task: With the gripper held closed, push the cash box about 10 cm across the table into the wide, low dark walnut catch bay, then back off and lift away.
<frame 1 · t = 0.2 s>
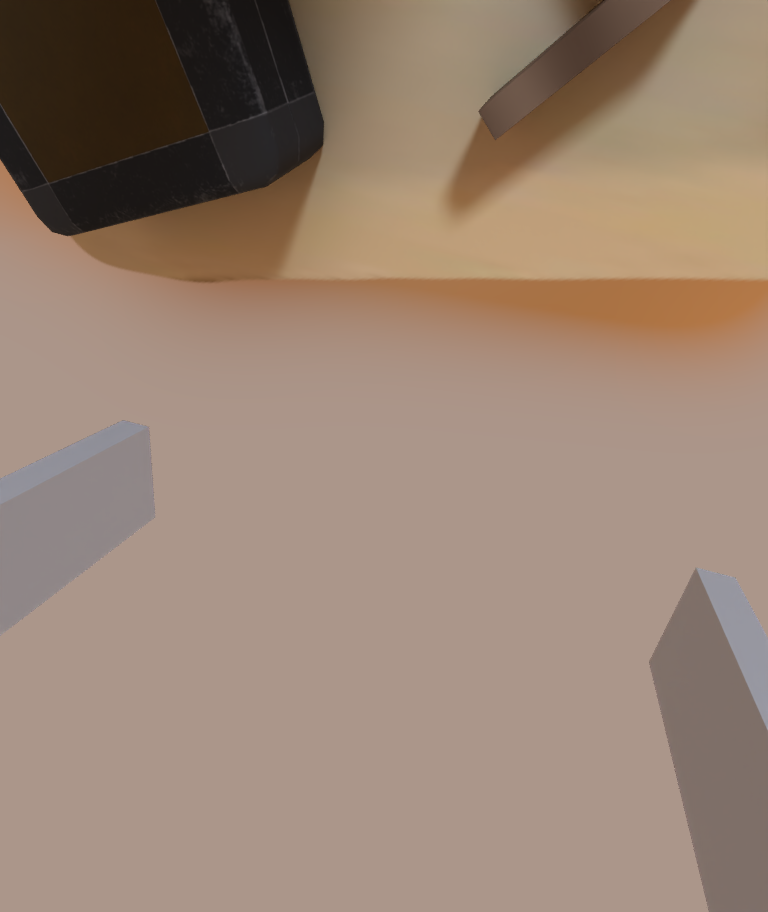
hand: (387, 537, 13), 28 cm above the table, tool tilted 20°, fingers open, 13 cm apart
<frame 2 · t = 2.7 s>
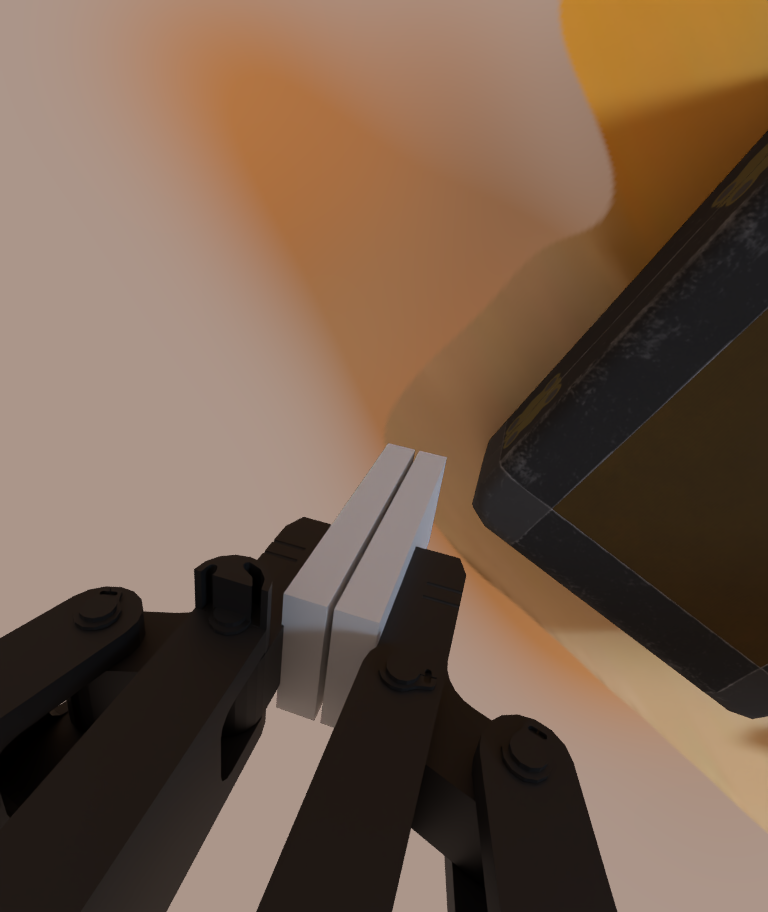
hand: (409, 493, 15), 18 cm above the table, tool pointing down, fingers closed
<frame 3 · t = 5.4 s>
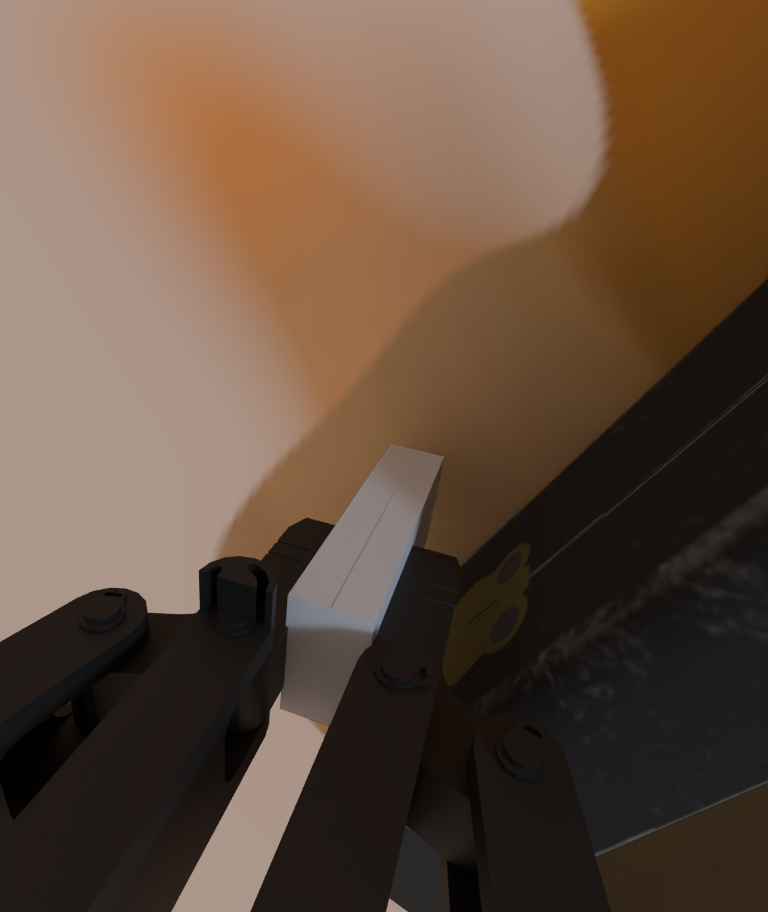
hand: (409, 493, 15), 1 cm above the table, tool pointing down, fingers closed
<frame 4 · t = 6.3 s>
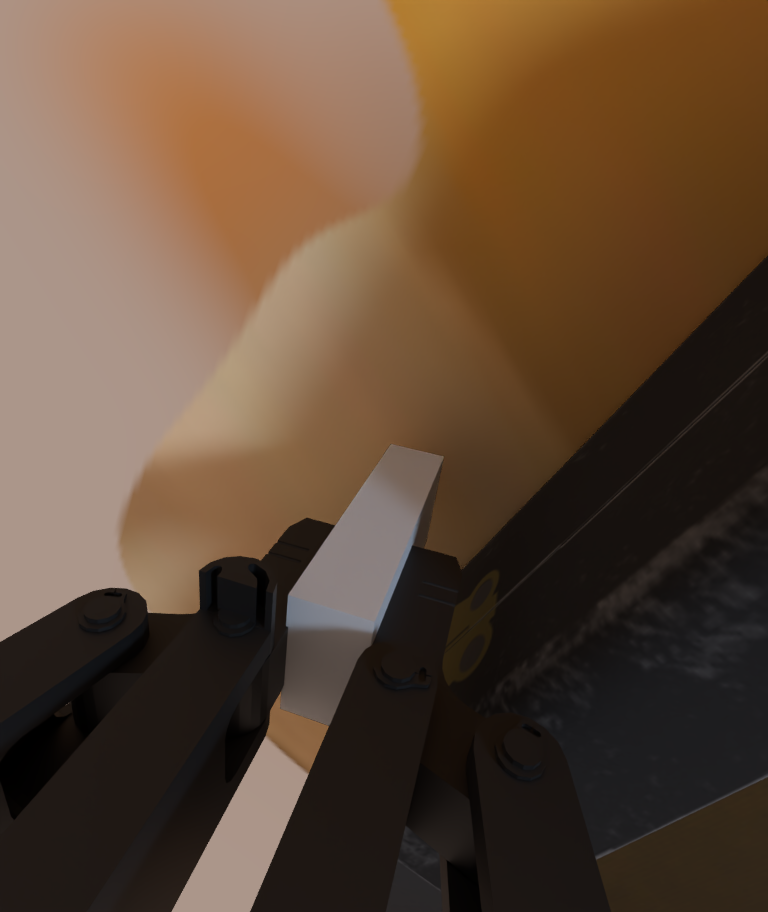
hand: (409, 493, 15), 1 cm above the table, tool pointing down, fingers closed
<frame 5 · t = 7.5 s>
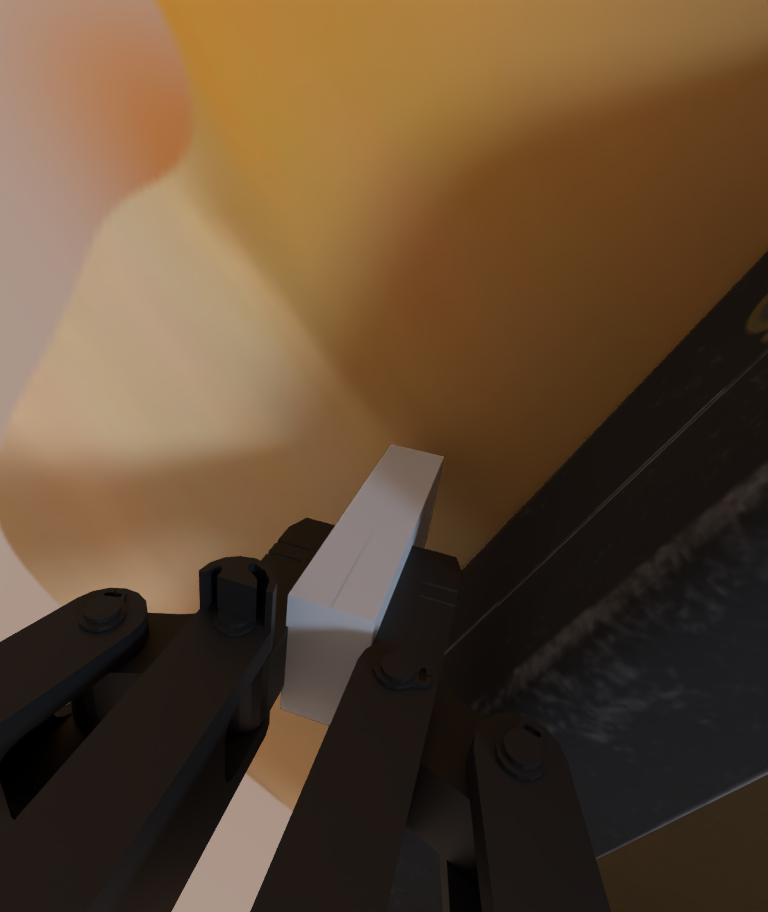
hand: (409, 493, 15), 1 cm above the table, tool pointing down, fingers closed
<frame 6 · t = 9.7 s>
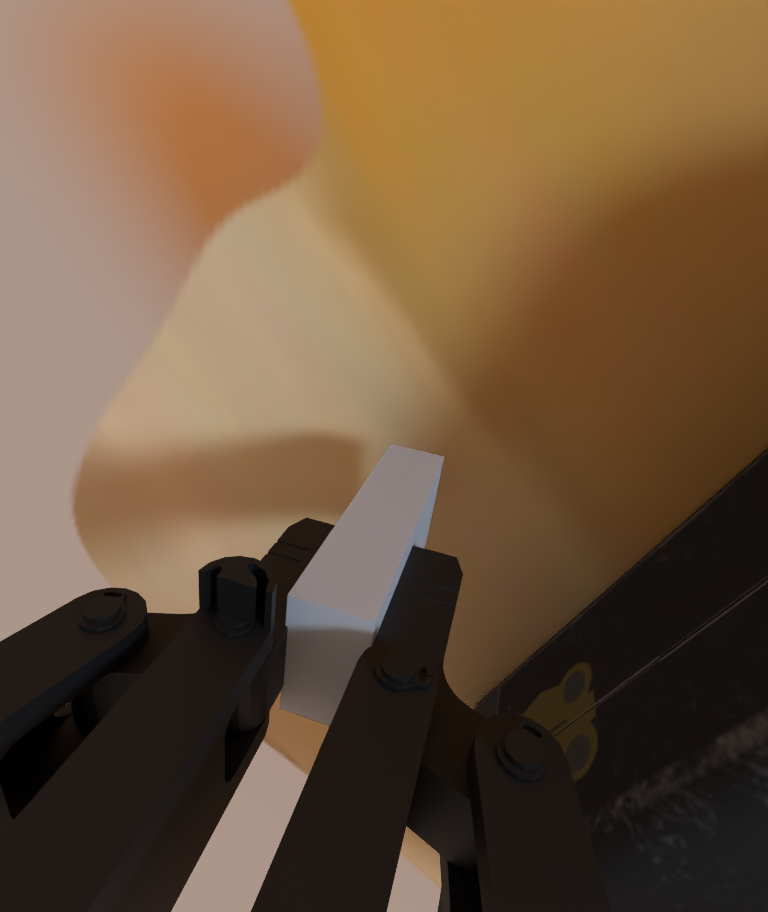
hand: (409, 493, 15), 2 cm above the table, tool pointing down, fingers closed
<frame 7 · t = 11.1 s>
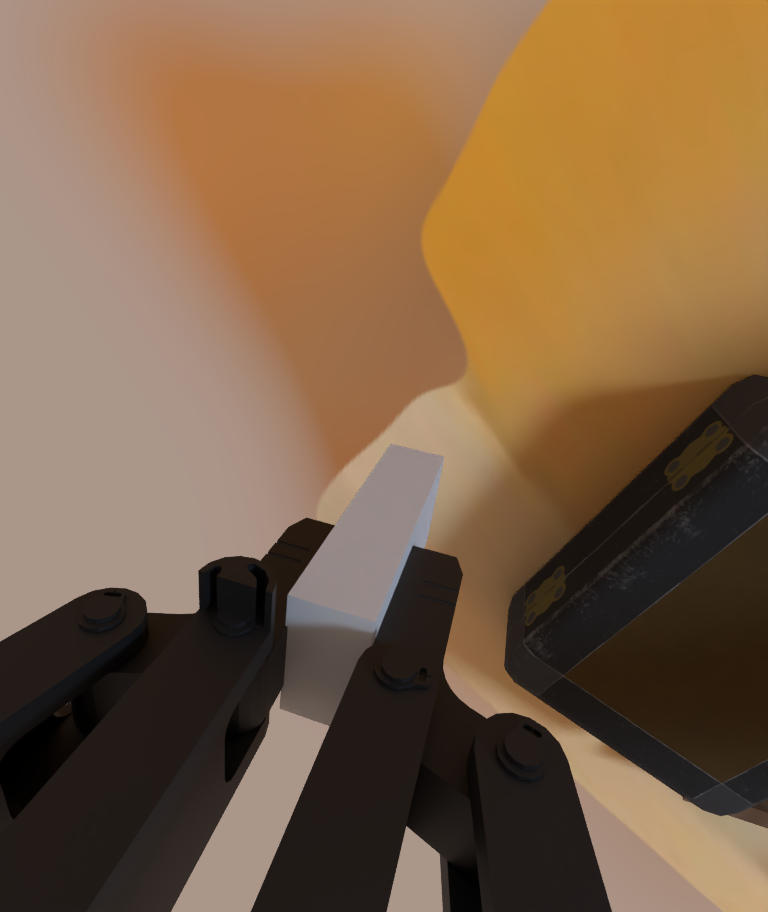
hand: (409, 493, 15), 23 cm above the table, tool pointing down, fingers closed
cash box: (720, 578, 38), on the table
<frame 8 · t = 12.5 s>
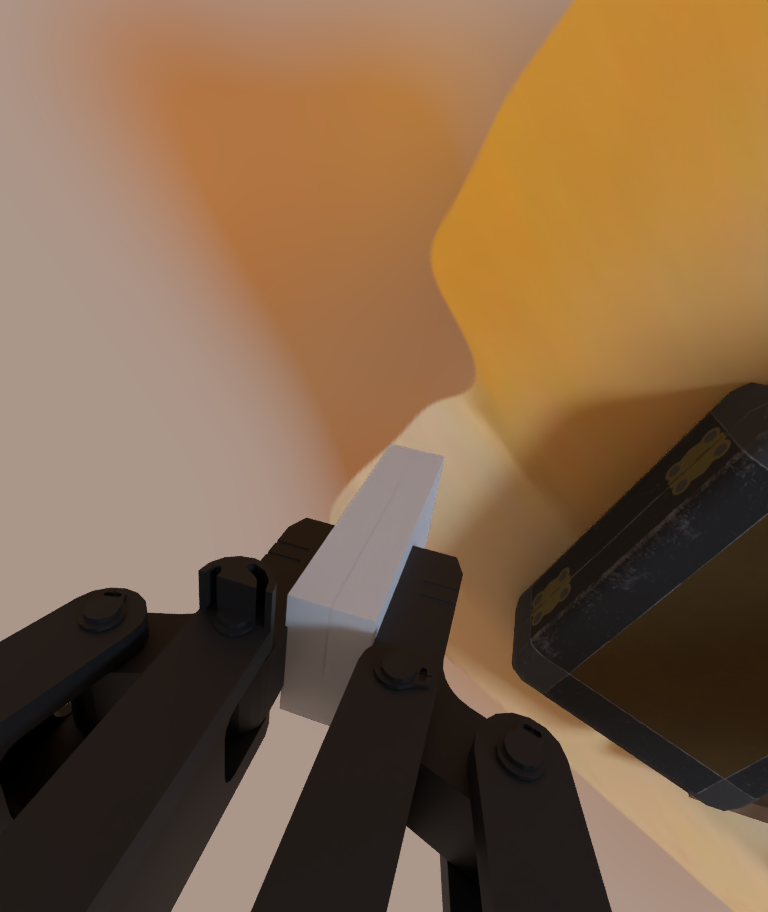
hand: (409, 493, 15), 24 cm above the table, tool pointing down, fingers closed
cash box: (721, 579, 39), on the table
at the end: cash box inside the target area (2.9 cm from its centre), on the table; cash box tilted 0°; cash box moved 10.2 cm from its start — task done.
